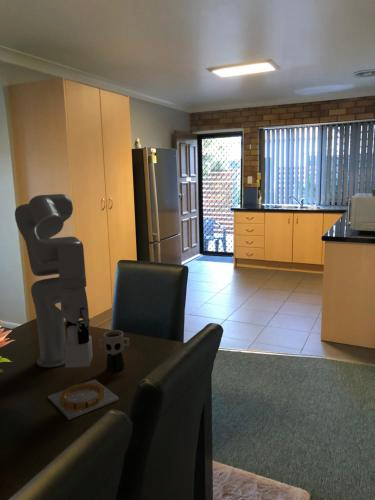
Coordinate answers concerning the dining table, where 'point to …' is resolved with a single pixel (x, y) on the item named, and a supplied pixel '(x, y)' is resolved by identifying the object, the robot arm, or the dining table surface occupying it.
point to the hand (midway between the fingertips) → (77, 338)
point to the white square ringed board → (82, 398)
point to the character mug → (114, 348)
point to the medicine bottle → (77, 349)
